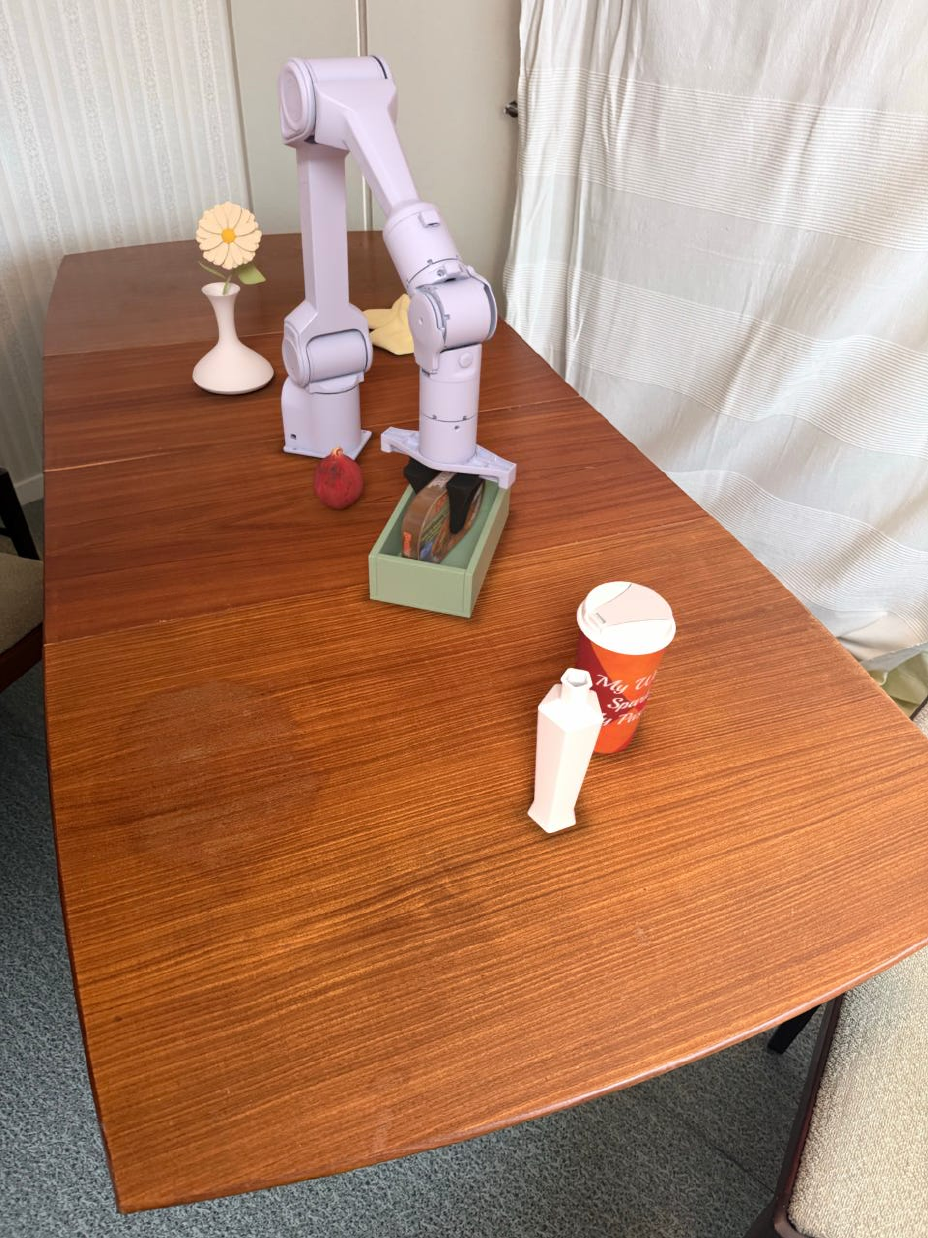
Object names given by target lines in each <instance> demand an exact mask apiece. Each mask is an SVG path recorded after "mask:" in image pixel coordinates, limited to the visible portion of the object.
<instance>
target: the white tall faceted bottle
mask: <svg viewBox="0 0 928 1238" xmlns="http://www.w3.org/2000/svg"><path fill="white" fill-rule="evenodd" d="M560 682H561V683H555V684H554V685H553V686H552V688H550V690H549V691H548V692H547V694H546V695H545V696H544V697H543V699H542V701H541V702H540V703H539V704H538V706H537V721H536V722H537V724H536V748H535V772H534V773H535V774H534V798H533V799H534V800H533V801H532V803H531V804H530V807H529V808H528V810H527V813H526V814H527V815H528V816H529V818H530V819H532V820H533V821H534V822H535V823H536V824H537V825H538V826H540V827H541V828H542V829H543V830H544V831H545V832H546V833H548V834H551V833H555V832H557V831H560V830H563V829H566V828H569V827H572V826H575V825H576V823H577V821H576V813H575V806H576V803H577V801H578V797H579V794H580V791H581V789H582V786H583V782H584V780H585V777H586V774H587V771H588V767H589V766H590V762H591V758H592V755H593V752H594V751H593V750H594V747H595V744H596V741H597V738H598V735H599V732H600V729H601V726H602V723H603V715H602V712H601V708H600V705H599V701H598V698H597V694H596V692H595V691H593V690H589V688H590V687H591V686H592V681H591V677H590V674H589V672H587V671H584V670H578V669H575V668H572V667H569V668H567V669H566V671H565V672H564V673H563V675H562V676H561V677H560Z"/></svg>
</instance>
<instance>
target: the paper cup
mask: <svg viewBox="0 0 928 1238" xmlns="http://www.w3.org/2000/svg"><path fill="white" fill-rule="evenodd" d="M576 621H577V625H578V627H579V629H578V636H577V647H576V657H575V666H574V669H578V670H584V671H587V672H589V674H590V677H591V681H592V686H591V687H590V688H589V690H593V691H595V692H596V694H597V698H598V701H599V705H600V708H601V712H602V715H603V723H602V726H601V729H600V732H599V735H598V738H597V741H596V744H595V747H594V750H593V752H595V753H597V754H598V753H599V754H613V753H615V754H616V753H618V752H620V751H623V750H624V749H626V748H627V747H628V746H629V745H630V743H631V742H632V741H633V738H634V736H635V733H636V731H637V728H638V726H639V723H640V720H641V717H642V714H643V712H644V710H645V707H646V703H647V701H648V698H649V695H650V693H651V690H652V687H653V684H654V681H655V679H656V676H657V673H658V670H659V667H660V665H661V662H662V659H663V656H664V653H665V652H666V649H667V646H668V645H669V644H670V643H672V641H673V639H674V637H675V634H676V628H677V627H676V621H675V619H674V616H673V611H672V607H671V606H670V605H669V603H668V601H667V600H666V599H665V598H664V597H663V596H662V595H660V594H659V593H658V592H656V591H655V590H654V589H652V588H649V587H648V586H645V585H641V584H638V583H635V582H630V581H611V582H606V583H602V584H600V585H598V586H596V587H594V588H593V589H592V590H591V591H589V593H588V594H587V595H586V597H585V598H584V600H582V602H581V603H580V604H579V606H578V608H577V611H576Z"/></svg>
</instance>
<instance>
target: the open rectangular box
mask: <svg viewBox="0 0 928 1238" xmlns="http://www.w3.org/2000/svg"><path fill="white" fill-rule="evenodd" d="M511 491H512V485H511V486H510V487H509V488H508V489H504V488H501V487H499V486H498V483H497V482H494V481H490V480H487V479H486V485H485V492H484V497H483V501H482V504H481V508H480V511H479V513H478V515H477V518H476V520H475V521H474V523H473V525H472V527H471V528H470V529H469V531H468V532H467V533H466V534H465V535H464V536H463V537H462V538H461V539H460V541H459V542H458V543H457V544H456V545H455V546H454V547H453V548H452V549H451V550H450V552H449V553H448V554H447V555H446V556H445V557H444V558H443V559H442V560H441V562H440V563H439V564H434V563H429V562H423V561H418V560H413V559H407V558H402V554H401V526H402V522H403V519H404V516H405V513H406V511H407V509H408V507H409V505H410V503H411V501H412V500H413V498H414V497H415V496H416V494H415V492H414V490H413V488H412V487H411V485H410V484H408V485H407V487H406V489H405V491H404V493H403V495H402V496H401V498H400V500H399V501H398V503H397V505H396V506H395V508H394V511H393V512H392V514H391V515H390V518H389V519H388V521H387V523H386V524H385V526H384V528H383V530H382V531H381V533H380V535H379V537H378V538H377V540H376V542H375V543H374V545H373V547H372V549H371V550H370V552H369V554H368V557H367V559H368V578H369V579H368V583H369V599H370V600H375V601H378V602H384V603H390V604H395V605H399V606H405V607H410V608H415V609H420V610H425V611H432V612H435V613H442V614H447V615H450V616H457V617H461V618H466V619H467V618H468V619H470V618H471V616H472V613H473V611H474V607H475V605H476V603H477V600H478V598H479V594H480V592H481V589H482V586H483V584H484V581H485V578H486V576H487V574H488V570H489V568H490V565H491V562H492V560H493V557H494V554H495V552H496V550H497V546H498V543H499V541H500V538H501V536H502V532H503V530H504V528H505V525H506V522H507V520H508V517H509V515H510V514H509V513H510V512H509V511H510V501H511Z"/></svg>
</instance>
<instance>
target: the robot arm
mask: <svg viewBox="0 0 928 1238" xmlns="http://www.w3.org/2000/svg"><path fill="white" fill-rule="evenodd" d="M391 69H392V68H390V66H389V64H388V62H387V61H386V59H385V57H383V56H382V55H380V54H378V53H373V54H368V55H364V56H363V55H362V56H337V57H335V56H334V57H309V58H300V57H299V56H290V57H288V58H287V59H286V60H285V62H284V64H283V66H282V67H281V70H280V72H279V74H278V76H277V97H278V110H279V113H278V114H279V125H280V133H281V136H282V137H281V140H282V143H283V145H284V146H287V147H289V148H293V149H295V157H296V159H295V160H296V173H297V188H298V203H299V219H300V232H301V235H300V236H301V248H302V250H301V251H302V263H303V265H302V266H303V278H304V295H305V298H304V299H303V301H302V302H300V304H299V305H298V306H296V307H295V308H294V309H293V310H292V311H291V312H290V313H288V314H287V316H285V318H284V320H283V323H284V324H283V339H282V343H281V356H282V360H283V365H284V368H285V370H286V373H287V375H288V376H287V377H286V379H285V381H284V383H283V386H282V391H281V398H280V405H281V416H282V424H283V433H284V442H285V445H284V446H283V447H282V448H283V451H284V452H285V453H290V454H296V455H301V456H302V455H303V456H308V457H313V458H314V457H315V458H320V459H321V458H322V459H323V458H325V457H326V456H328V455H330V454H331V452H332V450H333V448H335V447H337V446H339V447H341V448H342V449H343V454H344V455H347V456H349V457H350V458H352V459H353V460H354V461H356V459H357V457H358V456H359V454H360V453H361V452H362V450H363V448H364V447H365V446H366V444H367V443H368V442H369V440H370V438H371V437H372V435H373V433H372V431H371V430H365V429H362V423H361V422H362V421H361V401H360V400H361V399H360V398H361V397H360V383H362V382H364V381H365V375H364V374H366V373H368V372H369V371H370V370H371V368H372V364H373V360H374V347H373V345H372V342H371V339H370V335H369V333H370V329H369V327H368V320H367V318H366V317H365V315H364V314H363V311H362V310H361V309H360V308H359V307H357V306H356V305H354V304H353V303H351V302H350V292H349V291H350V289H349V288H350V286H349V257H348V255H349V254H348V253H349V252H348V225H347V224H348V223H347V221H348V219H347V190H346V189H347V188H346V158H347V156H348V155H349V154H351V156H352V158H353V160H354V162H355V164H356V165H357V167H358V169H359V170H360V172H361V174H362V176H363V178H364V179H365V181H366V183H367V186H368V187H369V189H370V190H371V193H372V194H373V196H374V198H375V200H376V202H377V203H378V205H379V207H380V209H381V210H382V212H383V214H384V216H385V217H386V222H385V223H384V226H383V229H382V234H381V235H382V240H383V242H384V245H385V246H386V247H385V248H386V249H387V251H388V253H389V256H390V258H391V260H392V262H393V265H394V267H395V269H396V271H397V274H398V276H399V278H400V280H401V283H402V285H403V287H404V290H405V292H406V294H407V295H408V296H409V298H410V304H409V308H407V318H408V324H409V328H410V332H411V335H412V338H413V343H414V353H413V356H414V361H415V364H417V365H418V366H419V394H418V396H419V399H418V400H419V403H418V404H419V406H418V407H419V408H418V409H419V410H418V411H419V412H418V419H419V420H418V424H419V425H418V430H412V429H411V430H410V429H402V428H398V427H393V426H389V427H388V428H387V429H385V430H384V431H383V432H382V433H381V434H380V451H381V452H383V453H389V454H390V453H392V452H396V453H399V454H403V455H406V456H408V457H409V458H408V459H409V460H408V463H407V464H406V465H405V466H404V467H403V472H402V473H403V477H404V478H405V480H406V481H407V482H408V483H409V484H410V485H411V487H412V488H413V490H414V492H415V494H416V495H417V494H418V493H419V492H420V491H421V490H422V489H423V488H424V487H425V486H426V485H427V484H428V483H429V482H430V481H431V480H432V479H433V478H434V477H435V476H436V475H437V474H438V473H439V472H440V471H450V472H457V474H456V475H454V476H453V477H452V478H451V479H450V480H449V481H448V482H447V483H446V488H447V492H448V496H449V502H450V533H453V534H457V533H458V532H459V531H460V530H461V529H462V528H463V527H464V525H465V521H466V517H467V514H468V511H469V508H470V506H471V503H472V501H473V499H474V497H475V495H476V493H477V491H478V489H479V488H480V486H481V484H482V483H483V481H484V480H485V479H487V480H490V481H494V482H497V483H498V486H499V487H501V488H504V489H508V488H509V487H510V486H511V487H512V485H513V484H514V482H516V477H517V463H515V462H512V461H509V460H506V459H505V458H503V457H500V456H498V455H497V454H495V453H494V452H492V451H490V450H488V449H487V448H484V447H483V446H481V445H479V444H477V437H478V436H477V435H478V420H479V419H478V418H479V417H478V416H479V403H480V402H479V401H480V387H481V385H480V384H481V369H482V351H483V344H482V343H483V342H487V341H489V340H490V339H491V338H492V337H493V336H494V334H495V332H496V328H497V323H498V308H497V302H496V298H495V296H494V292H493V290H492V286H491V284H490V283H489V281H488V279H486V278H485V277H484V276H483V275H481V274H479V273H476V271H475V269H474V266H471V265H470V264H469V265H467V264H465V263H464V261H463V259H462V256H461V254H460V253H459V250H458V247H457V244H456V243H455V241H454V238H453V236H452V234H451V232H450V230H449V228H448V226H447V224H446V221H445V219H444V217H443V215H442V212H441V209H440V208H439V207H438V206H436V205H435V204H434V203H431V202H428V201H425V200H422V197H421V194H420V192H419V189H418V187H417V183H416V181H415V178H414V174H413V172H412V169H411V167H410V163H409V161H408V157H407V155H406V152H405V150H404V147H403V144H402V142H401V138H400V136H399V132H398V130H397V129H398V128H397V127H396V125H397V120H398V109H399V98H398V97H399V96H398V95H399V94H398V89H397V88H398V87H397V86H396V85H397V84H396V81H395V77H394V74H393V72H392V70H391ZM409 484H408V485H409Z"/></svg>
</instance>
